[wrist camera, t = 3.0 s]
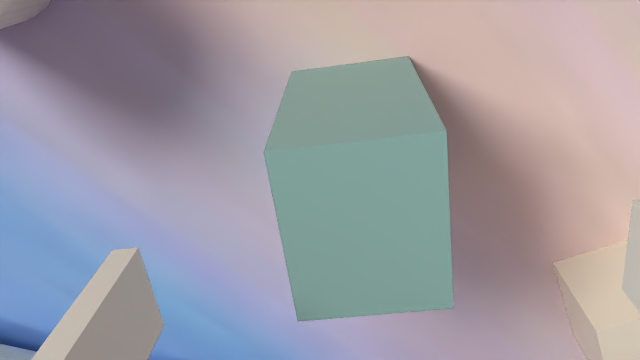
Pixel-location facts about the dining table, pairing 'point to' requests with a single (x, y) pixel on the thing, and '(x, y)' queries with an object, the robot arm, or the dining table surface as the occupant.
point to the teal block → (362, 191)
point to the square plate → (15, 353)
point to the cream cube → (600, 303)
